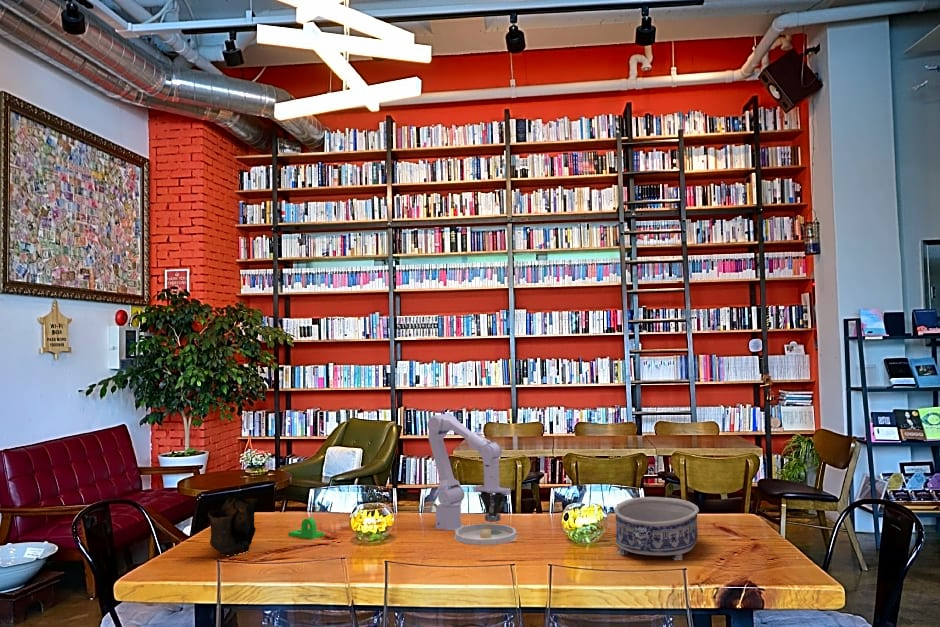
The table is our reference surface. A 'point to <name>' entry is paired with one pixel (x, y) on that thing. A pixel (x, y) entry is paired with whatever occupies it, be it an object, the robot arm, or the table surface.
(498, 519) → the planet gear
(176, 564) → the table surface
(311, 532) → the mechanical part
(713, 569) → the table surface
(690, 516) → the decorative bowl
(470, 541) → the carrier
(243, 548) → the pottery vessel
